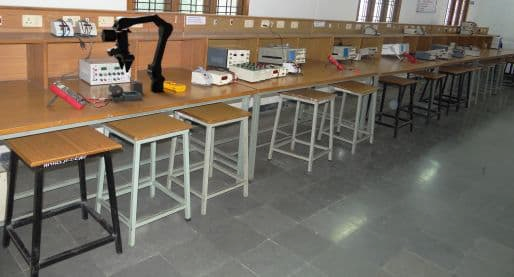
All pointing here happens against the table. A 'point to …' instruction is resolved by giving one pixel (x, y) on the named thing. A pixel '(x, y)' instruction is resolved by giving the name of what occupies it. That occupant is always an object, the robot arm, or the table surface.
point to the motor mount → (122, 94)
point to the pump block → (137, 86)
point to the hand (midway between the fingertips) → (124, 71)
